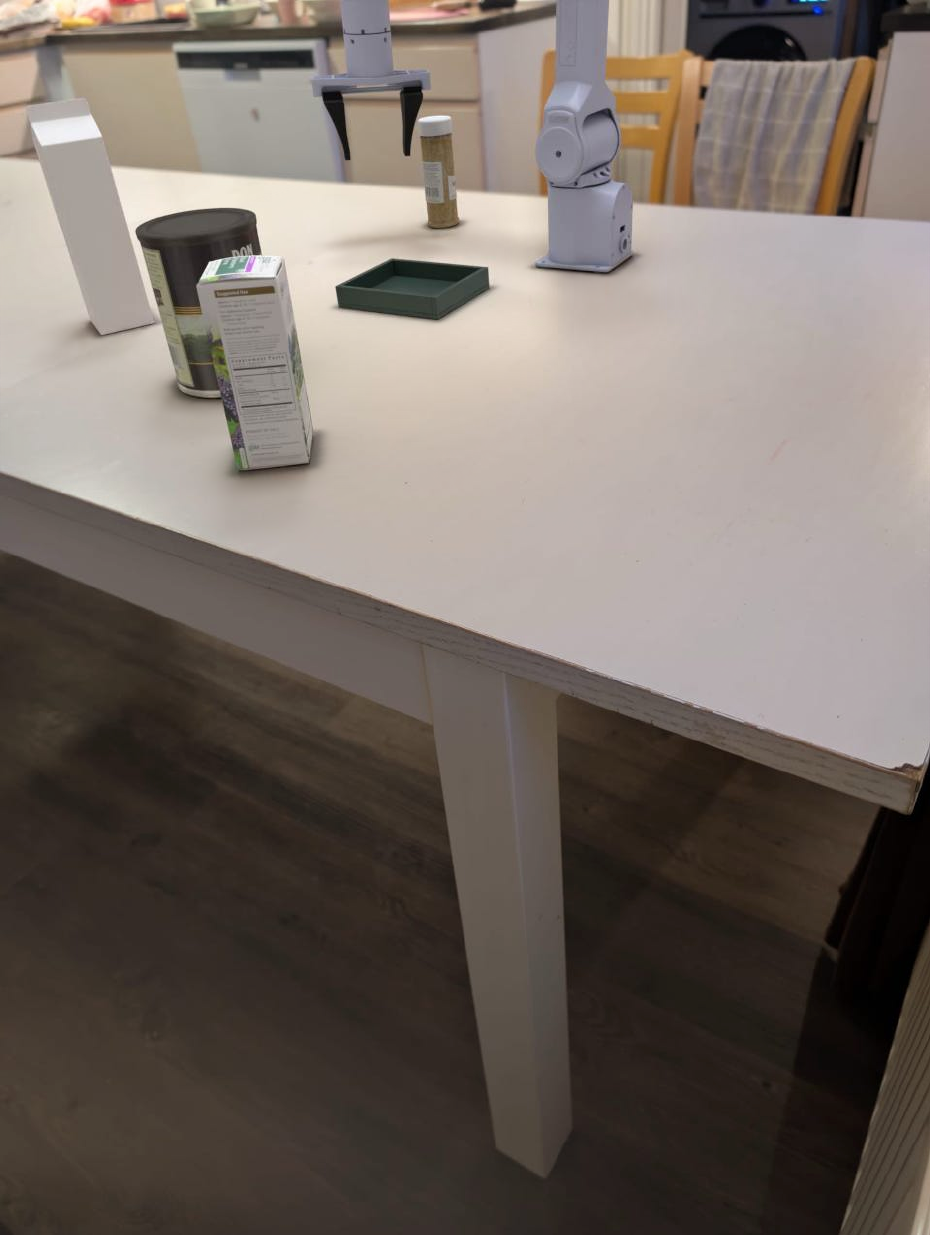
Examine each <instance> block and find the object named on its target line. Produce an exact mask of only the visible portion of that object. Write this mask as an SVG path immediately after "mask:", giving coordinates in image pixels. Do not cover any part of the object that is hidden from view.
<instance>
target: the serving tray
mask: <svg viewBox="0 0 930 1235" xmlns="http://www.w3.org/2000/svg"><path fill="white" fill-rule="evenodd" d="M334 287H335V294H336V300H337V306H338V308H343V309H352V310H358V311H367V312H373V313H374V312H375V313H384V314H391V315H399V316H406V317H415V318H423V319H424V318H425V319H432V320H439V319H441V318H443V317H445V316H446V315H447V314H449V313H450V312H452V311H454V310H456V309H457V308H459V307H461V306H462V305H464V304H465V303H467V302H469V301H471V300H472V299H474V298H475V297H478V295H480V294H481V293H483V292H485V291H487V290H488V289H489V288H490V276H489V267H488V266H481V265H480V266H479V265H469V264H458V263H446V262H438V261H437V262H435V261H426V260H416V259H415V260H414V259H404V258H394V257H393V258H389V259H387V260H385V261H383V262H382V263H380V264H377V265H375V266H372V267H371V268H369V269H367V270H365V271H363V272H361V273H359V274H357V275H355V276H353V277H352V278H349V279H347V280H345V281H344V282H341V283H339V284H337V285H335V286H334Z"/></svg>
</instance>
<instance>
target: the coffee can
mask: <svg viewBox="0 0 930 1235" xmlns="http://www.w3.org/2000/svg"><path fill="white" fill-rule="evenodd" d="M257 224H258V220H257V215H256V213H255V212H254V211H252V210H249V209H245V208H241V207H212V208H211V207H209V208H199V209H191V210H184V211H179V212H175V213H170V214H166V215H162V216H158V217H154V218H152V219H149V220H147V221H145V222H143V223H141V224H139V225H138V226H137V227H136V228H135V231H134V232H135V235H136V238H137V240H138V242H139V243H140V247H141V250H142V256H143V259H144V262H145V266H146V269H147V273H148V277H149V281H150V285H151V288H152V292H153V295H154V299H155V302H156V307H157V309H158V313H159V317H160V321H161V325H162V328H163V331H164V332H163V333H164V336H165V339H166V343H167V346H168V350H169V354H170V358H171V360H172V365H173V368H174V373H175V377H176V380H177V387H178V389H179V390H180V391H181V392H182V393H184V394H186V395H188V396H192V397H196V398H208V399H218V398H220V399H221V394H220V390H219V386H218V381H217V376H216V372H215V368H214V364H213V359H212V354H211V350H210V346H209V341H208V337H207V332H206V328H205V323H204V318H203V314H202V310H201V305H200V301H199V297H198V292H197V287H196V286H197V284H198V282H199V280H200V278H201V277H202V275H203V273H204V271H205V269H206V267H207V265H208V263H209V262H211V261H215V260H219V259H224V258H230V257H238V256H252V255H263V253H262V248H261V243H260V238H259V233H258V228H257V227H258V226H257Z"/></svg>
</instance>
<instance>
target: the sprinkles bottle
mask: <svg viewBox="0 0 930 1235" xmlns="http://www.w3.org/2000/svg"><path fill="white" fill-rule="evenodd" d="M453 130H454V129H453V120H452V117H451V116H450V115H429V116H424V117H421V118H419V119H418V121H417V131H418V135H419V140H420V148H421V166H422V173H423V174H422V175H423V176H422V177H423V186H424V187H423V188H424V196H425V202H426V212H427V225H428V227H430V228H433V229H434V228H435V229H445V228H452V227H454V226H456V225H458V224H459V223H460V218H459V212H458V199H457V198H458V195H457V184H456V183H457V182H456V171H455V162H454V161H455V160H454V150H453V132H454V131H453Z"/></svg>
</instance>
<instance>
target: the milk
mask: <svg viewBox="0 0 930 1235" xmlns="http://www.w3.org/2000/svg"><path fill="white" fill-rule="evenodd" d="M25 111H26V115H27V118H28V121H29V124H30V133H31V139H32V143H33V146H34V149H35V151H36V155H37V158H38V162H39V165H40V167H41V170H42V174H43V177H44V180H45V183H46V187H47V189H48V192H49V195H50V199H51V203H52V205H53V209H54V211H55V214H56V218H57V220H58V223H59V227H60V230H61V234H62V236H63V239H64V242H65V246H66V248H67V252H68V255H69V258H70V262H71V264H72V268H73V270H74V273H75V274H74V275H75V277H76V279H77V283H78V285H79V289H80V292H81V296H82V299H83V301H84V304H85V308H86V311H87V314H88V318H89V320H90V322H91V323H92V325H93V326H94V328H95V329H96V330H97V332H98V333H99V335H100V336H104V335H105V336H106V335H109V334H113V333H117V332H121V331H127V330H130V329H135V328H139V327H144V326H147V325H152V324H154V323H155V320H154V317H153V312H152V310H151V306H150V301H149V299H148V295H147V292H146V288H145V285H144V280H143V278H142V273H141V271H140V266H139V263H138V260H137V255H136V252H135V248H134V245H133V242H132V238H131V234H130V231H129V228H128V224H127V221H126V216H125V212H124V210H123V205H122V201H121V198H120V195H119V191H118V188H117V183H116V181H115V177H114V173H113V171H112V167H111V162H110V160H109V156H108V153H107V148H106V145H105V142H104V137H103V135H102V133H101V131H100V128H99V126H98V124H97V122H96V120H95V119H94V117H93V115H92V112H91V108H90V104H89V101H88V100H87V99H86V97H85V98H84V97H81V98H73V99H65V100H58V101H52V102H51V101H50V102H45V103H36V104H29V105H27V106H26V108H25Z"/></svg>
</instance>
